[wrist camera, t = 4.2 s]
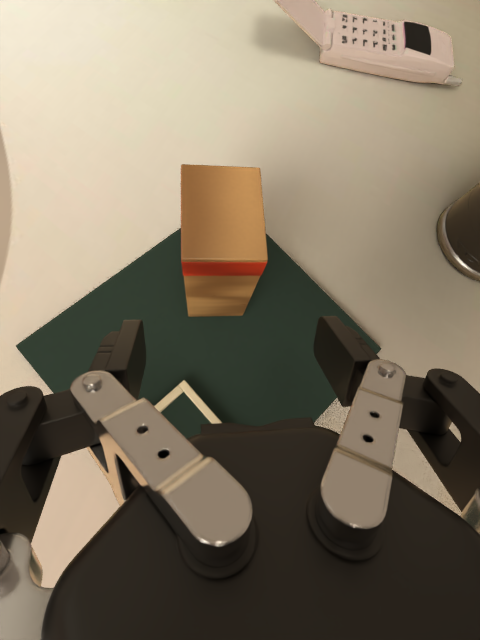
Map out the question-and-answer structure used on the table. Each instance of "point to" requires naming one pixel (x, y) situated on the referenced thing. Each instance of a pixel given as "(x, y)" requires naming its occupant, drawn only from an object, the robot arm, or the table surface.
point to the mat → (202, 343)
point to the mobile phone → (376, 44)
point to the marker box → (221, 238)
